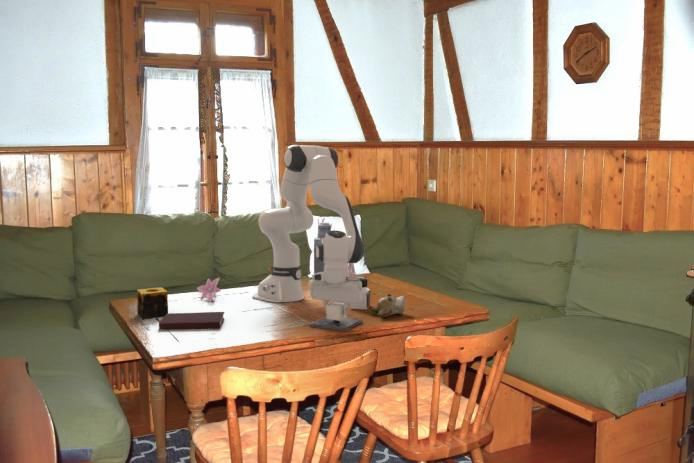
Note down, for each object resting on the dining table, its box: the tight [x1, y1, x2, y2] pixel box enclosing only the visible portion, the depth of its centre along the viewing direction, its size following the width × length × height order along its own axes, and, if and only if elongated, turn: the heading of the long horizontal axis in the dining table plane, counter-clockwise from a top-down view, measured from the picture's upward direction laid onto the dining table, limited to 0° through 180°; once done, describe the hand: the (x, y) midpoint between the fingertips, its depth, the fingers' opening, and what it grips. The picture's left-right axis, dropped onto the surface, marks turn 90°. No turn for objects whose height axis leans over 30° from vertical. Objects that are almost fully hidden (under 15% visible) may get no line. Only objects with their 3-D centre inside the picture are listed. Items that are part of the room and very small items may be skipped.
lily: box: [196, 277, 222, 303], centre depth 297 cm, size 11×11×9 cm
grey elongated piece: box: [313, 221, 332, 274], centre depth 319 cm, size 10×10×30 cm
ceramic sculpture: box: [365, 293, 406, 318], centre depth 267 cm, size 11×9×15 cm
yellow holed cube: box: [136, 286, 169, 320], centre depth 269 cm, size 10×10×10 cm
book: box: [158, 311, 225, 331], centre depth 255 cm, size 14×22×4 cm, turn 93°
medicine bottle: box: [349, 277, 371, 311], centre depth 280 cm, size 7×7×12 cm
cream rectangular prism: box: [325, 301, 348, 321], centre depth 254 cm, size 5×5×5 cm
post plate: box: [309, 316, 363, 333], centre depth 254 cm, size 14×14×5 cm
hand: (336, 313), depth 254 cm, fingers closed on cream rectangular prism, 5 cm apart
